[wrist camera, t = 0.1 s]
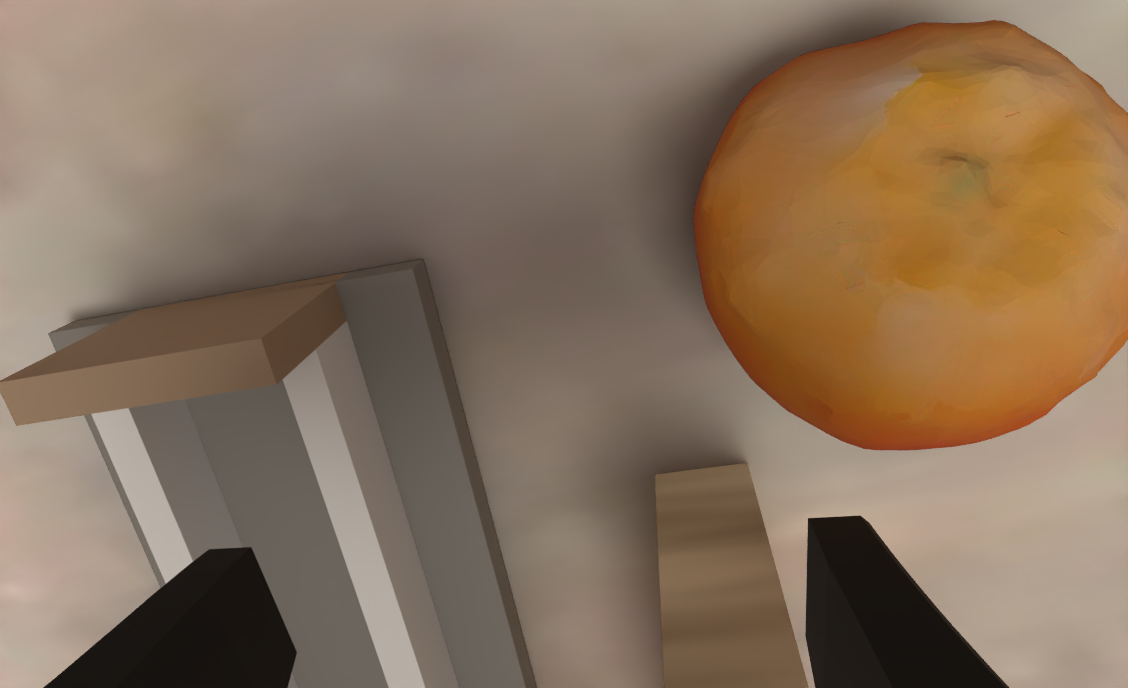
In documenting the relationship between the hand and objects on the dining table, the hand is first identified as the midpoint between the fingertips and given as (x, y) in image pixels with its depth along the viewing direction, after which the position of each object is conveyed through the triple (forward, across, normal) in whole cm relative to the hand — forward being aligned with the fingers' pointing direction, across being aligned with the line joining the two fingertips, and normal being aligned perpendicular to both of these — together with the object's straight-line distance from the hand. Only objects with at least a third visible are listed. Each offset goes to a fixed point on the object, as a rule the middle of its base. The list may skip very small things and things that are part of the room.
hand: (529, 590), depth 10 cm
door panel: (+9, -3, +11) cm, 14 cm away
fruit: (+11, -7, -1) cm, 13 cm away
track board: (+9, +8, +12) cm, 17 cm away
